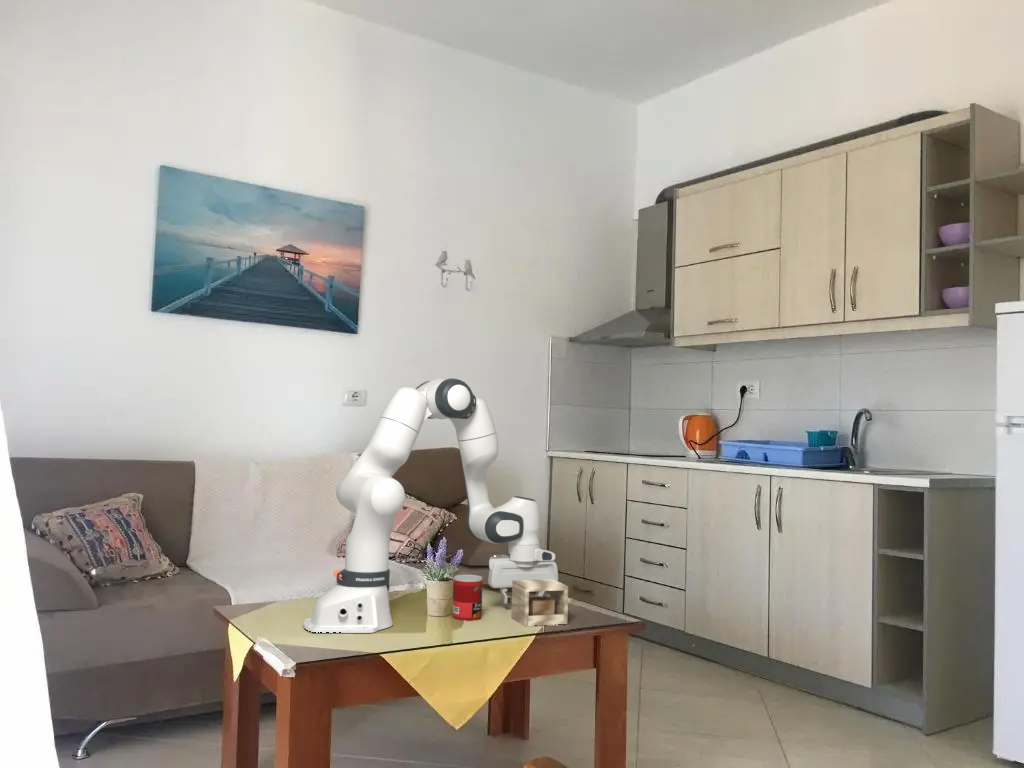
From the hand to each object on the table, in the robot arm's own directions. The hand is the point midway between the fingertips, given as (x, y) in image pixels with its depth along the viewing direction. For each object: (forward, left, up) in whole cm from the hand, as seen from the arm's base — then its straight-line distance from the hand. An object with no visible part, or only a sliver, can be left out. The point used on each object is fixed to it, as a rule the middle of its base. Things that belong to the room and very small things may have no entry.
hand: (522, 602), depth 243 cm
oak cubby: (0, -14, -2) cm, 14 cm away
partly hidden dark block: (0, -8, -2) cm, 8 cm away
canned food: (-18, -7, -2) cm, 19 cm away
